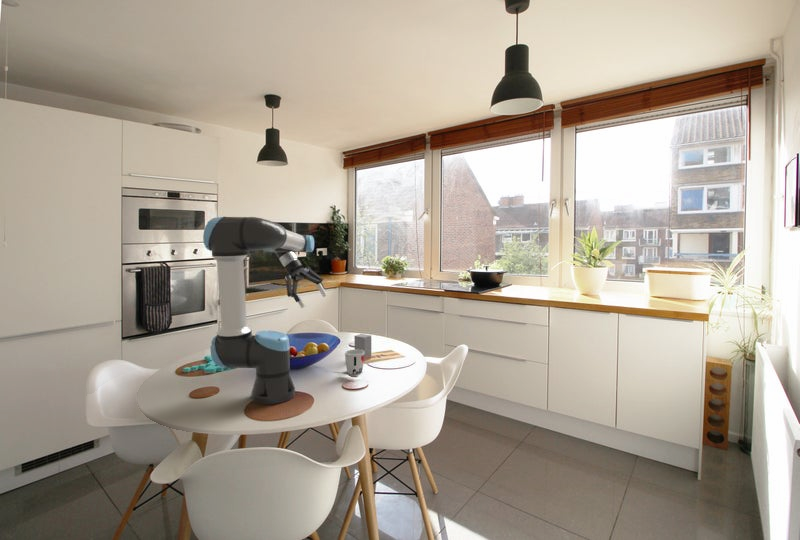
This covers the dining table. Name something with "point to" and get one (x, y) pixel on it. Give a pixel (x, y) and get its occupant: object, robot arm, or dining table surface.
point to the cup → (354, 361)
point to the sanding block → (363, 345)
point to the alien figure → (207, 366)
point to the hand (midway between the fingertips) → (314, 301)
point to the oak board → (383, 356)
